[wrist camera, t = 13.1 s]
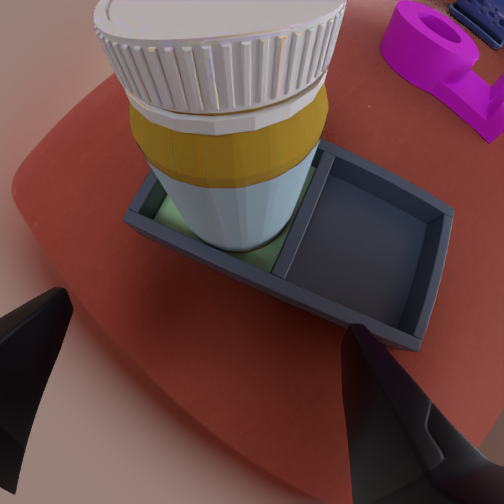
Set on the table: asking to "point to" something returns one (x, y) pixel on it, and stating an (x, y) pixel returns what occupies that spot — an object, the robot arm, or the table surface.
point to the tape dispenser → (443, 65)
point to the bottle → (225, 104)
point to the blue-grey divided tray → (332, 246)
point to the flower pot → (482, 19)
